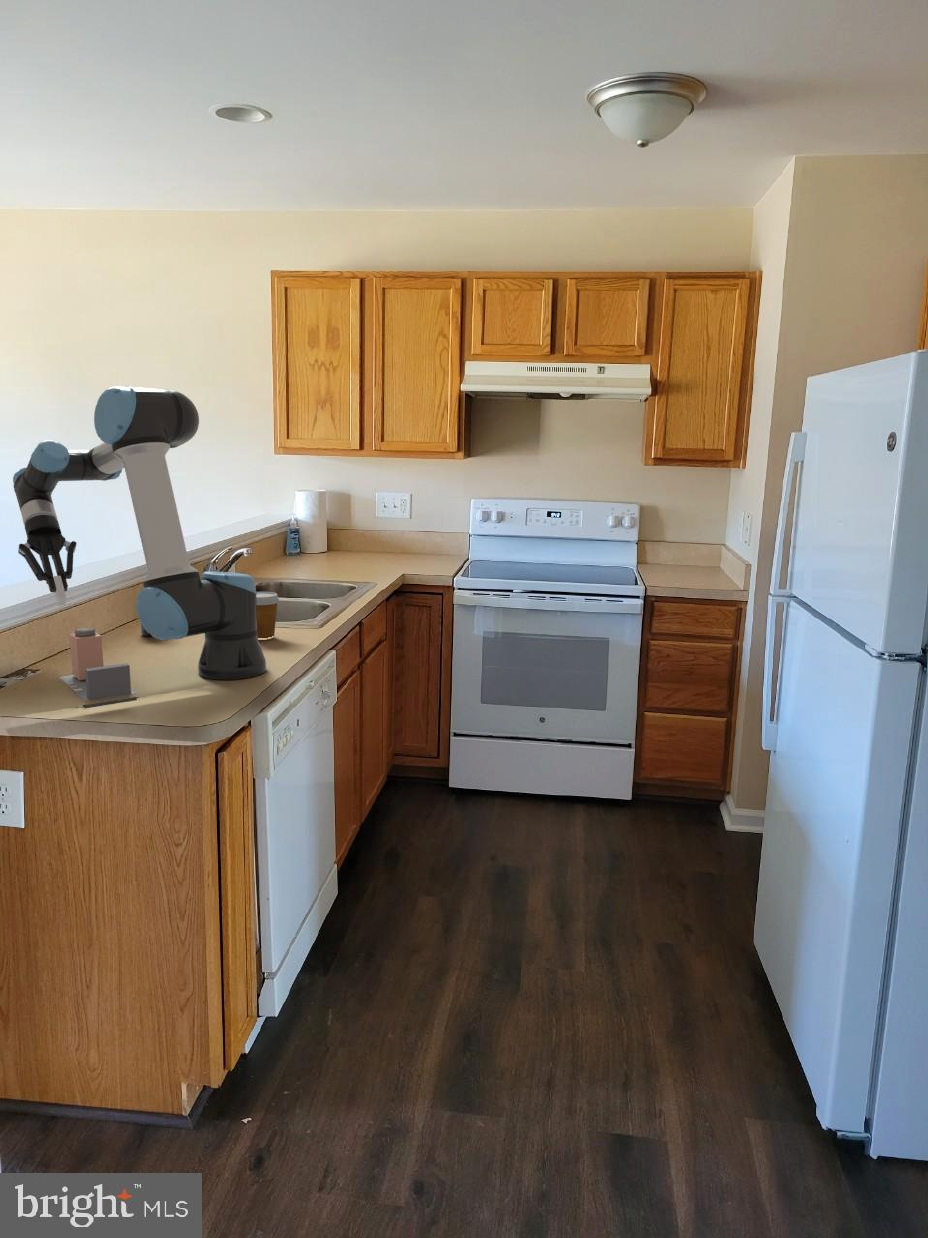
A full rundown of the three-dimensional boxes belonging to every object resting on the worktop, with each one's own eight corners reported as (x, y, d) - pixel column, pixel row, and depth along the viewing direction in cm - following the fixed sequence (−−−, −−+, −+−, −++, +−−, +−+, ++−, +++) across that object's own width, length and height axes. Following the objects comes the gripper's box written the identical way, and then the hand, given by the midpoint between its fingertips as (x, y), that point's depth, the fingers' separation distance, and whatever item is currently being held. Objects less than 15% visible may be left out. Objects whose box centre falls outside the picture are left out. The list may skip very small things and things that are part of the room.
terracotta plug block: (72, 673, 187) (69, 629, 185) (96, 670, 190) (93, 626, 188) (79, 680, 182) (76, 634, 180) (104, 676, 185) (101, 631, 183)
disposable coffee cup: (287, 638, 233) (286, 594, 230) (257, 643, 226) (256, 599, 223) (266, 632, 239) (265, 590, 237) (236, 638, 232) (235, 594, 230)
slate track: (59, 683, 187) (57, 649, 185) (107, 676, 193) (105, 644, 191) (85, 708, 170) (82, 671, 168) (136, 700, 176) (134, 664, 174)
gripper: (68, 531, 215) (90, 608, 205) (10, 534, 207) (30, 614, 197) (71, 512, 209) (94, 589, 200) (12, 514, 202) (33, 594, 192)
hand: (62, 601), depth 199 cm, fingers closed
